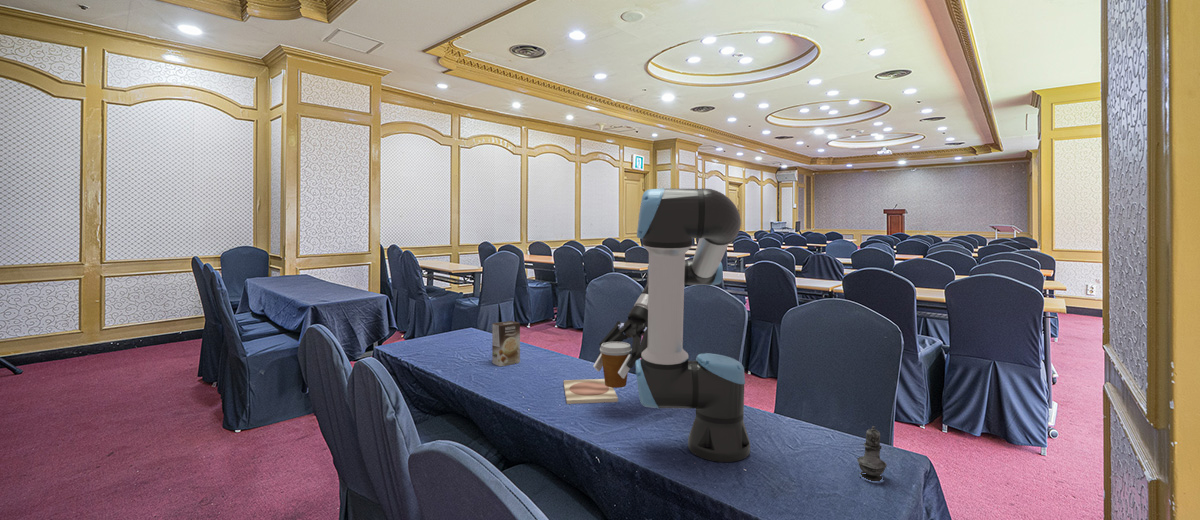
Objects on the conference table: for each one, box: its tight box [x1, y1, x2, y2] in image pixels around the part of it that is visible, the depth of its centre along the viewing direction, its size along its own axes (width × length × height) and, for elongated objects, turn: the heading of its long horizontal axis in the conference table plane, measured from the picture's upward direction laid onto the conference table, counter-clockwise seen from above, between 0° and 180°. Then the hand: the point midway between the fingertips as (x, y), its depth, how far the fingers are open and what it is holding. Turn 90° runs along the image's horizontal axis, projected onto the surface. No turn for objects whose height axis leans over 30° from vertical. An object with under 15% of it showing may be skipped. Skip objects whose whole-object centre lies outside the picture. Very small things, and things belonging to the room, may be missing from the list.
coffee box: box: [491, 320, 521, 367], centre depth 210 cm, size 9×6×16 cm
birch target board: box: [563, 378, 619, 405], centre depth 176 cm, size 20×16×1 cm
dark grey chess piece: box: [857, 425, 888, 481], centre depth 119 cm, size 6×6×12 cm
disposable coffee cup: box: [599, 341, 632, 389], centre depth 158 cm, size 10×10×12 cm
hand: (608, 372), depth 156 cm, fingers closed on disposable coffee cup, 9 cm apart
